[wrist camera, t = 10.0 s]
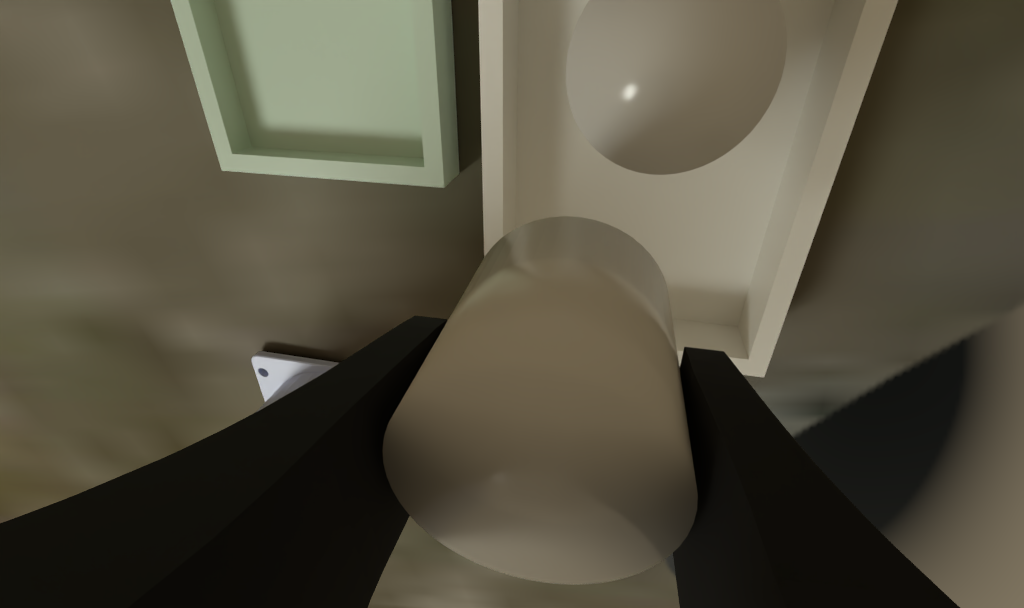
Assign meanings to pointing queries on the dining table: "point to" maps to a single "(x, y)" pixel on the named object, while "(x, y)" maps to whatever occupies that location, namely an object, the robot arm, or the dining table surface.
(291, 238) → the dining table surface
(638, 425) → the pebble
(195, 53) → the tray
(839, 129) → the bin
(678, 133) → the pebble
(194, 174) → the dining table surface
